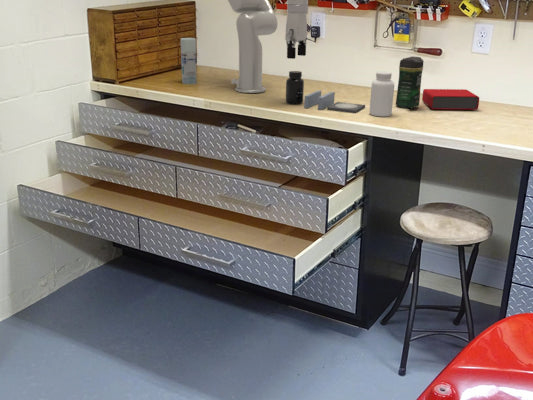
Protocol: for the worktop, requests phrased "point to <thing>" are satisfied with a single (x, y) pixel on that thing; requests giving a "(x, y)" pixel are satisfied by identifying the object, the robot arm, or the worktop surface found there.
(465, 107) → the red device housing
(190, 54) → the tall grey product box
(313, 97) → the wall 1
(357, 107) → the mat
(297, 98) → the supplement bottle
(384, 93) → the pill bottle
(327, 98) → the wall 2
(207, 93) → the worktop surface
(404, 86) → the coffee jar
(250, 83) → the robot arm
